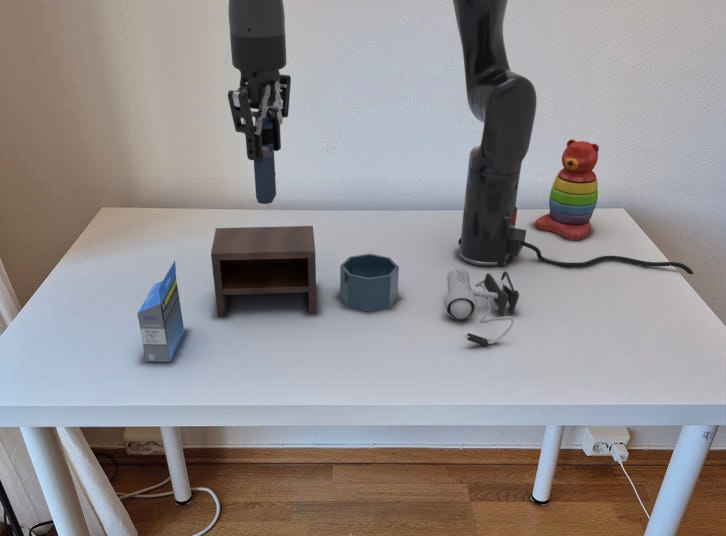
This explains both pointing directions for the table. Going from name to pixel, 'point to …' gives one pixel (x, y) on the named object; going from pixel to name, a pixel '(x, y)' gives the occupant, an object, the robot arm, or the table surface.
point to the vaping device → (265, 166)
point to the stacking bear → (573, 193)
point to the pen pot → (369, 282)
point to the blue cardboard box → (161, 319)
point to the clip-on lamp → (463, 297)
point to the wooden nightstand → (263, 262)
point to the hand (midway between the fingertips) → (264, 154)
